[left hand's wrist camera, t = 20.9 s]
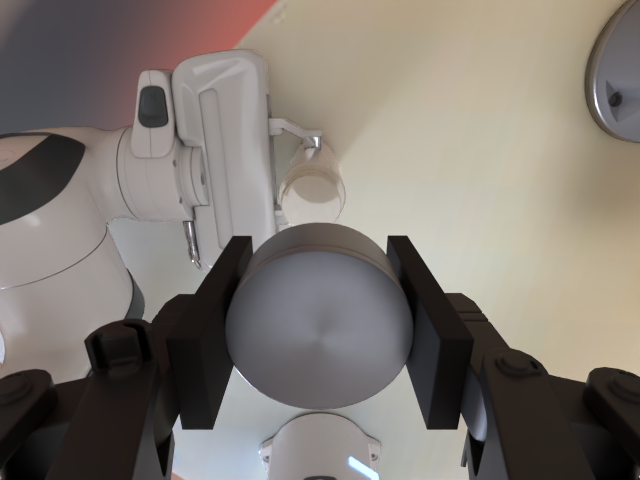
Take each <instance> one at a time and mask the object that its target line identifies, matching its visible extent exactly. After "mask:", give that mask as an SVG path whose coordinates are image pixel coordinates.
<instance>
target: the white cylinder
mask: <svg viewBox="0 0 640 480" xmlns="http://www.w3.org/2000/svg"><path fill="white" fill-rule="evenodd" d="M345 196H346V195H345V188H344V184H343V181H342V178H341V175H340V171H339V168H338V165H337V162H336V158H335V155H334V152H333V150H332V149H331V147H330V146H329V145H328V144H327V143H325V142H323V141H322V147H321V148H315V147H313V146H312V147H311V148H303V143H302V144H301V145H300V146H299V147H298V148H297V149H296V151H295V154H294V156H293V158H292V160H291V162H290V164H289V167H288V169H287V171H286V173H285V175H284V178H283V180H282V182H281V184H280V188H279V203H280V206H281V210H282V213H283V215H284V218H285V219H286V220H287V222H288V223H289V224H290V225H291V226H292V227H293V226H296V225H301V224H305V223H315V222H321V223H333V224H334V223H335V222H336V220H337V219H338V217H339V215H340V213H341V211H342V209H343V207H344V204H345Z"/></svg>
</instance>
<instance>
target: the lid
mask: <svg viewBox="0 0 640 480" xmlns="http://www.w3.org/2000/svg"><path fill="white" fill-rule="evenodd" d="M225 335H226V344H227V350H228V353H229V355H230V358H231V360H232V362H233V364H234V365H235V367H236V369H237V370H238V372H239V373H240V374H241V375H242V377H243V378H244V379H245V380H246V381H247V382H248V383H249V384H250V385H251V386H253V387H254V388H255V389H256V390H258V391H259V392H261V393H262V394H264V395H266V396H267V397H269V398H271V399H273V400H276V401H278V402H280V403H283V404H286V405H289V406H294V407H298V408H305V409H320V410H323V409H335V408H340V407H346V406H349V405H353V404H356V403H358V402H361V401H363V400H366V399H368V398H370V397H371V396H373V395H375V394H377V393H378V392H380V391H381V390H382V389H384V388H385V387H386V386H387V385H389V384H390V383H391V382H392V381H393V380H394V379H395V378H396V376H397V375H398V374H399V373H400V371H401V370H402V368H403V367H404V365H405V364H406V362H407V360H408V357H409V355H410V352H411V349H412V346H413V340H414V319H413V313H412V310H411V307H410V304H409V302H408V299H407V297H406V295H405V293H404V290H403V288H402V286H401V284H400V281H399V279H398V277H397V275H396V272H395V270H394V268H393V266H392V264H391V262H390V260H389V258H388V257H387V256H386V254H385V253H384V251H383V250H382V249H381V248H380V247H379V246H378V245H377V244H376V243H375V242H374V241H372V240H371V239H370V238H369V237H367V236H365V235H364V234H362V233H360V232H359V231H356V230H354V229H352V228H349V227H346V226H342V225H339V224H333V223H321V222H315V223H305V224H301V225H296V226H293V227H290V228H287V229H285V230H283V231H281V232H279V233H277V234H275V235H273V236H272V237H271V238H269V239H268V240H266V241H265V242H264V243H263V244H262V245H261V246H260V247H259V248H258V249H257V250H256V251H255V253H254V254H253V255H252V257H251V259H250V260H249V262H248V264H247V266H246V268H245V270H244V272H243V275H242V277H241V279H240V281H239V284H238V286H237V288H236V290H235V293H234V295H233V297H232V299H231V302H230V304H229V307H228V309H227V313H226V317H225Z"/></svg>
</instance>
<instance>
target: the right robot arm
mask: <svg viewBox="0 0 640 480" xmlns="http://www.w3.org/2000/svg"><path fill="white" fill-rule="evenodd" d="M284 129H285V130H287V131H289V132H291V133H292V134H294V135H296V136H298V137H300V138H302V141H303V148H311V147H312V146H313V147H315V148H321V147H322V130H321V129H309V130H303V128H301V127H300V126H298V125H296V124H294V123H293V122H291V121H289V120H287V119H286V118H284V117H283V118H272V117H271V102H270V87H269V72H268V63H267V61H266V60H265V59H264V58H263V57H262V55H260V54H259V53H258V52H257V51H255V50H252V49H235V50H225V51H218V52H211V53H206V54H201V55H197V56H193V57H190V58H187V59H185V60H183V61H182V62H180V63H179V64H178V65H177V66H176V68H175V69H174V71H173V70H167V69H151V70H146V71H143V72H142V73H141V74H140V77H139V81H138V89H137V100H136V109H135V117H134V124H133V125H131V126H125V127H122V128H119V129H116V130H102V129H98V128H95V127H89V126H75V127H56V128H46V129H37V130H31V131H24V132H18V133H10V134H3V135H0V331H1V334H2V337H3V340H4V345H5V357H4V361H3V364H2V365H1V367H0V379H1V378H3V377H5V376H7V375H9V374H12V373H15V372H19V371H23V370H30V369H41V370H46V371H47V372H48V373H50V374H51V376H52V379H53V382H54V384H59V383H63V382H68V381H72V380H77V379H82V378H86V377H89V376H91V375H92V373H93V371H92V367H91V364H90V361H89V357H88V354H87V350H86V347H85V344H84V340H85V339H86V338H87V337H88V335H89V334H90V333H92V332H93V331H95V330H96V329H98V328H99V327H101V326H104V325H106V324H108V323H111V322H114V321H118V320H123V319H135V318H137V319H142V316H143V313H144V308H145V302H144V297H143V294H142V292H141V290H140V289H139V287H138V285H137V284H136V282H135V280H134V279H133V277H132V275H131V274H130V272H129V270H128V269H127V268H126V266H125V264H124V262H123V260H122V258H121V255H120V253H119V251H118V249H117V247H116V244H115V242H114V240H113V238H112V236H111V233H110V231H109V229H108V227H107V224H108V225H109V224H110V222H111V221H112V220H113V219H116V218H128V219H132V220H136V221H141V222H153V221H183V226H184V231H185V236H186V239H187V242H188V254H189V258H190V260H191V261H192V262H194V263H195V265H196V266H197V267H198V268H199V269H200V270H201V271H202V272H204V273H207V274H208V273H209V271H210V270H211V268H212V267H213V265H214V264H215V262H216V261H217V259H218V258H219V256H220V254H221V253H222V251H223V250H224V248H225V247H226V245H227V244H228V242H229V241H230V239H231V238H232V236H252V244H253V254H254V253H255V251H256V250H257V249H258V248H259V247H260V246H261V245H262V244H263V243H264V242H265V241H266V240H268V239H269V238H271V237H272V236H273V235H275V234H277V233H279V224H289V223H288V222H287V220H286V219H285V218H284V215H283V213H282V210H281V206H280V205H277V193H276V177H275V162H274V147H273V135H282V134H283V133H284ZM199 260H200V263H199V262H198V261H199ZM200 264H201V265H200ZM381 452H382V450H381V444H380V442H378V441H377V440H375V439H373V438H371V437H368V436H367V435H365V434H364V433H363V432H362V431H361V429H360V428H359V427H358V426H357V425H355V424H354V423H353V422H351V421H349V420H348V419H345V418H343V417H340V416H337V415H333V414H324V413H317V414H309V415H304V416H301V417H298V418H296V419H294V420H292V421H290V422H288V423H287V424H286V425H284V426H283V427H282V428H281V429H280V431H279V432H278V433H277V434H276V435H275V436H274V437H273V438H271V439H269V440H267V441H265V442H264V443H262V444H261V445H260V449H259V454H260V457H261V460H262V462H263V465H264V467H265V470H266V472H267V480H379V479H378V474H377V473H375V470H376V467H377V464H378V461H379V458H380V455H381ZM1 479H2V478H1V476H0V480H1Z"/></svg>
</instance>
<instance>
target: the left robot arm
mask: <svg viewBox="0 0 640 480" xmlns="http://www.w3.org/2000/svg"><path fill="white" fill-rule="evenodd" d="M585 92H586V99H587V104H588V107H589V110H590V113H591V115H592V117H593V118H594V120H595V121H596V123H597V124H598V125H599V126H600V128H602V129H603V130H604V131H605V132H606V133H608V134H609V135H611V136H613V137H615V138H617V139H620V140H623V141H628V142H635V143H640V0H628V1H627V2H626V3H624V5H623V6H622V7H621V8H620V9H619V10H618V11H617V12H616V13H615V14H614V15H613V17H612V18H611V19H610V20H609V22H608V23H607V24H606V26H605V27H604V29H603V31H602V32H601V34H600V36H599V38H598V39H597V41H596V43H595V46H594V48H593V50H592V53H591V56H590V59H589V63H588V67H587V72H586V81H585ZM252 255H253V244H252V236H232V238H231V239H230V241H229V242H228V244H227V245H226V247H225V248H224V250H223V251H222V253H221V254H220V256H219V258H218V259H217V261H216V262H215V264H214V265H213V267H212V268H211V270H210V271H209V273H208V274H207V276H206V277H205V279H204V281H203V282H202V284H201V285H200V287H199V288H198V290H197V291H196V293H195V294H178V295H177V296H175V297H174V298H172V299H171V300H169V301H168V302H166V303H165V305H164V306H163V307H162V308H161V310H160V311H159V312H158V315H156V316H155V318H154V319H153V320H152V323H150V324H149V323H148V322H147V321H146V320H141V319H137V318H135V319H123V320H118V321H114V322H111V323H108V324H106V325H104V326H101V327H99V328H98V329H96V330H95V331H93V332H92V333H90V334H89V335H88V337H87V338H86V339H85V340H84V344H85V347H86V350H87V354H88V357H89V361H90V364H91V367H92V371H93V373H92V375H91V376H89V377H86V378H82V379H77V380H72V381H68V382H63V383H59V384H54V382H53V379H52V376H51V374H50V373H48V372H47V371H46V370H41V369H30V370H23V371H19V372H15V373H12V374H9V375H7V376H5V377H3V378H1V379H0V476H1V478H2V479H1V480H171V472H172V464H173V455H174V446H175V442H174V435H173V430H172V428H173V426H174V424H175V422H176V419H177V417H178V415H179V414H180V419H181V425H182V430H213V427H214V424H215V421H216V418H217V415H218V412H219V409H220V406H221V403H222V399H223V396H224V393H225V390H226V387H227V384H228V381H229V378H230V375H231V372H232V369H233V366H234V364H233V362H232V360H231V358H230V355H229V353H228V350H227V344H226V335H225V317H226V313H227V309H228V307H229V304H230V302H231V299H232V297H233V295H234V293H235V290H236V288H237V286H238V284H239V281H240V279H241V277H242V275H243V272H244V270H245V268H246V266H247V264H248V262H249V260H250V259H251V257H252ZM386 256H387V257H388V258H389V260H390V262H391V264H392V266H393V268H394V270H395V272H396V275H397V277H398V279H399V281H400V284H401V286H402V288H403V290H404V293H405V295H406V297H407V299H408V302H409V304H410V307H411V310H412V313H413V319H414V340H413V346H412V349H411V352H410V355H409V357H408V360H407V362H406V367H407V370H408V373H409V376H410V379H411V382H412V385H413V388H414V391H415V394H416V397H417V400H418V403H419V406H420V409H421V412H422V415H423V418H424V422H425V425H426V428H427V430H457V429H458V423H459V418H460V413H461V414H462V416H463V418H464V420H465V422H466V425H467V427H468V430H467V435H466V440H465V445H464V450H463V455H462V460H461V466H462V467H466V463H468V471H469V480H640V478H639V475H640V377H639V376H637V375H635V374H633V373H630V372H626V371H624V370H620V369H615V368H608V367H602V368H595V369H594V370H592V371H591V372H590V373H589V375H588V378H587V381H586V383H584V382H579V381H575V380H570V379H565V378H561V377H556V376H553V375H549V374H548V372H547V371H546V369H545V368H544V366H543V365H542V364H541V363H540V362H539V361H537V360H536V359H535V358H533V357H532V356H530V355H528V354H526V353H524V352H522V351H519V350H515V349H512V348H510V347H509V346H508V345H507V343H506V342H505V341H504V340H503V338H502V337H501V336H500V334H499V333H498V332H497V330H496V329H495V328H494V327H493V325H492V324H491V323H490V322H488V319H487V318H486V316H485V315H484V314H483V313H482V311H481V310H480V309H479V307H478V306H477V305H476V303H475V302H474V301H472V300H471V299H469V298H468V297H466V296H465V295H463V294H462V293H444V292H443V290H442V289H441V287H440V286H439V284H438V282H437V281H436V279H435V278H434V276H433V275H432V273H431V272H430V270H429V269H428V267H427V266H426V264H425V263H424V261H423V259H422V258H421V256H420V255H419V253H418V252H417V250H416V249H415V247H414V246H413V244H412V243H411V241H410V240H409V238H408V236H388V241H387V254H386Z"/></svg>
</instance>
